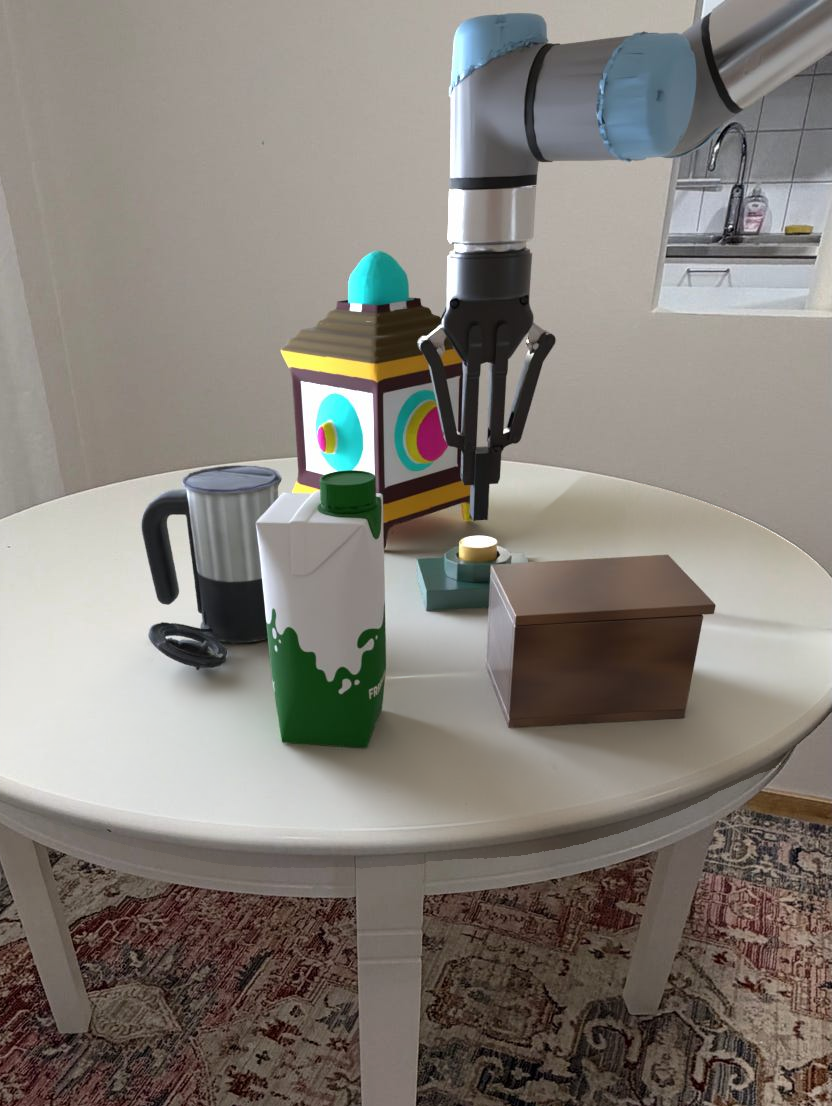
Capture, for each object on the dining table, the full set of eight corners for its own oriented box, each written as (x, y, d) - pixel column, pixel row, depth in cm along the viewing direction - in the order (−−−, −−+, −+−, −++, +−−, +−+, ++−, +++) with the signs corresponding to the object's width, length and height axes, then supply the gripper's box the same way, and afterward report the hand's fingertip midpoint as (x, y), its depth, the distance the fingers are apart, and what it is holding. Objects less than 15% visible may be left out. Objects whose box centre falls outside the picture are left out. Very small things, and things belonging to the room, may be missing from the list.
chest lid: (666, 563, 83) (668, 554, 82) (714, 614, 73) (716, 604, 73) (490, 573, 82) (490, 564, 82) (515, 625, 73) (515, 615, 72)
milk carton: (375, 755, 75) (368, 495, 64) (266, 747, 77) (239, 493, 65) (394, 704, 82) (391, 461, 70) (293, 698, 84) (273, 460, 72)
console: (522, 572, 107) (525, 536, 105) (541, 605, 99) (544, 567, 97) (416, 577, 107) (416, 542, 105) (426, 611, 99) (426, 573, 97)
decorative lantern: (275, 525, 124) (252, 255, 107) (384, 492, 135) (379, 241, 117) (380, 559, 112) (374, 261, 95) (491, 520, 123) (504, 245, 105)
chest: (643, 658, 88) (657, 564, 83) (684, 717, 78) (703, 616, 73) (485, 667, 87) (490, 573, 82) (508, 728, 78) (515, 626, 73)
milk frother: (287, 605, 102) (275, 460, 93) (306, 667, 89) (294, 505, 80) (153, 619, 100) (127, 472, 91) (153, 684, 87) (124, 520, 79)
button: (493, 550, 103) (494, 534, 102) (499, 563, 99) (500, 546, 98) (456, 552, 102) (456, 536, 101) (461, 565, 99) (462, 548, 98)
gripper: (553, 240, 88) (533, 502, 102) (412, 247, 87) (412, 508, 101) (572, 246, 82) (548, 524, 95) (421, 253, 81) (419, 531, 95)
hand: (478, 516), depth 98 cm, fingers closed
